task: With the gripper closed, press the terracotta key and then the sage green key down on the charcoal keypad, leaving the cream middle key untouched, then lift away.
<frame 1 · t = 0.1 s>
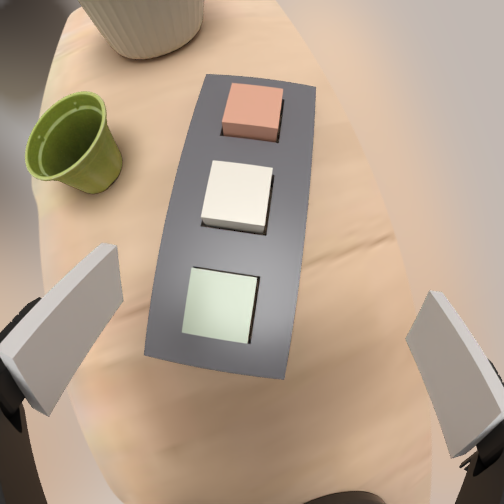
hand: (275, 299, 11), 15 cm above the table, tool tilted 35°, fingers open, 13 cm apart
canister: (159, 38, 32), on the table
sage key: (220, 305, 23), point 4 cm above the table, slide at 0.0 cm
plant pot: (100, 169, 29), on the table
keypad: (239, 210, 28), on the table
terracotta key: (253, 112, 26), point 4 cm above the table, slide at 0.0 cm
cream key: (238, 197, 24), point 4 cm above the table, slide at 0.0 cm
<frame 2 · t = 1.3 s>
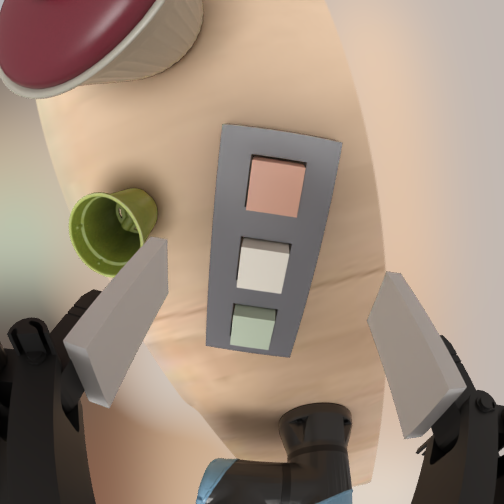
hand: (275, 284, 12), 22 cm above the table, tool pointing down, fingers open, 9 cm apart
canister: (151, 30, 25), on the table
sage key: (252, 326, 36), point 4 cm above the table, slide at 0.0 cm
plant pot: (137, 210, 35), on the table
keypad: (263, 251, 36), on the table
terracotta key: (275, 185, 28), point 4 cm above the table, slide at 0.0 cm
cream key: (262, 265, 32), point 4 cm above the table, slide at 0.0 cm
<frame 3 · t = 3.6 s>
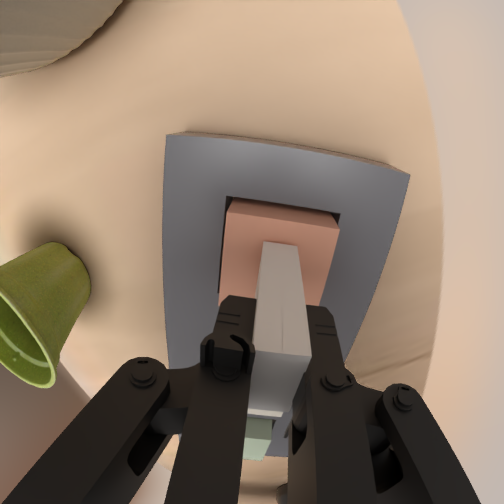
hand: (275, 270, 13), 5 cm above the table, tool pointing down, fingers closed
sage key: (239, 435, 22), point 4 cm above the table, slide at 0.0 cm
plant pot: (65, 272, 21), on the table
keypad: (255, 342, 22), on the table
terracotta key: (275, 257, 15), point 3 cm above the table, slide at 0.5 cm, touching gripper
cream key: (252, 378, 18), point 4 cm above the table, slide at 0.0 cm
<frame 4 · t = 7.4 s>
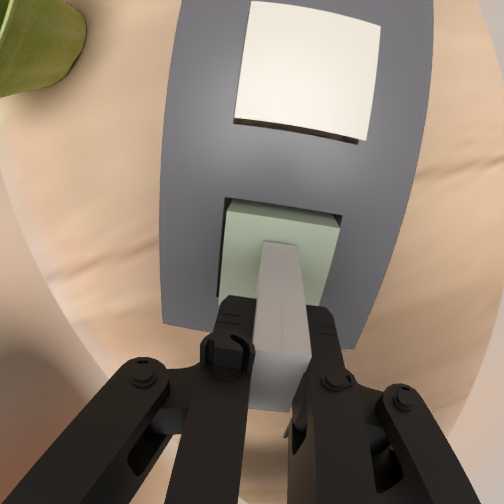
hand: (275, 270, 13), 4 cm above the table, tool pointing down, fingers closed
sage key: (275, 256, 15), point 3 cm above the table, slide at 0.9 cm, touching gripper
plant pot: (57, 47, 12), on the table
keypad: (299, 81, 13), on the table
cream key: (307, 70, 10), point 4 cm above the table, slide at 0.0 cm
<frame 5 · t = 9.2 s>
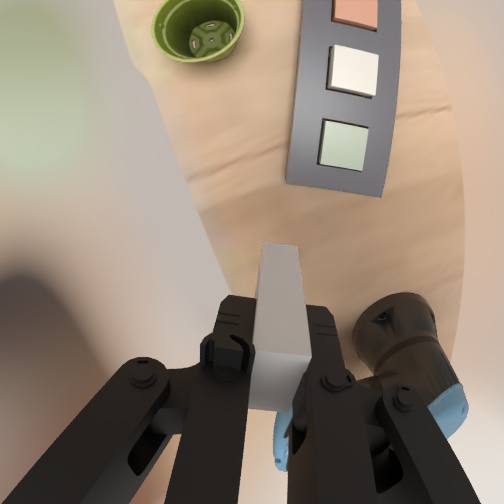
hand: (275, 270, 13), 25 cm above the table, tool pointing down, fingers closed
sage key: (342, 144, 31), point 3 cm above the table, slide at 1.0 cm
plant pot: (213, 41, 29), on the table
keypad: (345, 75, 29), on the table
terracotta key: (354, 9, 23), point 3 cm above the table, slide at 1.0 cm
cream key: (352, 71, 26), point 4 cm above the table, slide at 0.0 cm
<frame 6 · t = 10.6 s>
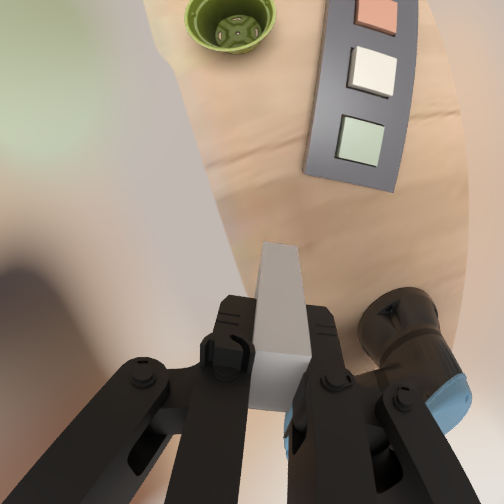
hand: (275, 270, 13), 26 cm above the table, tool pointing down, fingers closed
sage key: (359, 140, 32), point 3 cm above the table, slide at 1.0 cm
plant pot: (239, 34, 29), on the table
keypad: (363, 75, 30), on the table
terracotta key: (375, 14, 24), point 3 cm above the table, slide at 1.0 cm
cream key: (371, 72, 27), point 4 cm above the table, slide at 0.0 cm
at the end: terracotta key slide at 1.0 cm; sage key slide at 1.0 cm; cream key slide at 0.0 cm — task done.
